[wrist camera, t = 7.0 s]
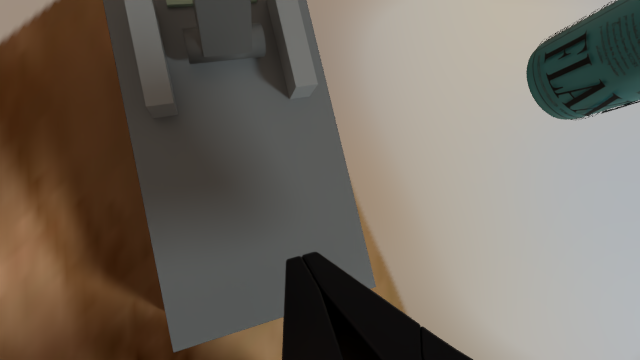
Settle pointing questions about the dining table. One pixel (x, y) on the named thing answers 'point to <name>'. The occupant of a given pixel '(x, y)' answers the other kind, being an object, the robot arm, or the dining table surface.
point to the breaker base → (233, 164)
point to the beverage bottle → (589, 64)
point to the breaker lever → (223, 32)
